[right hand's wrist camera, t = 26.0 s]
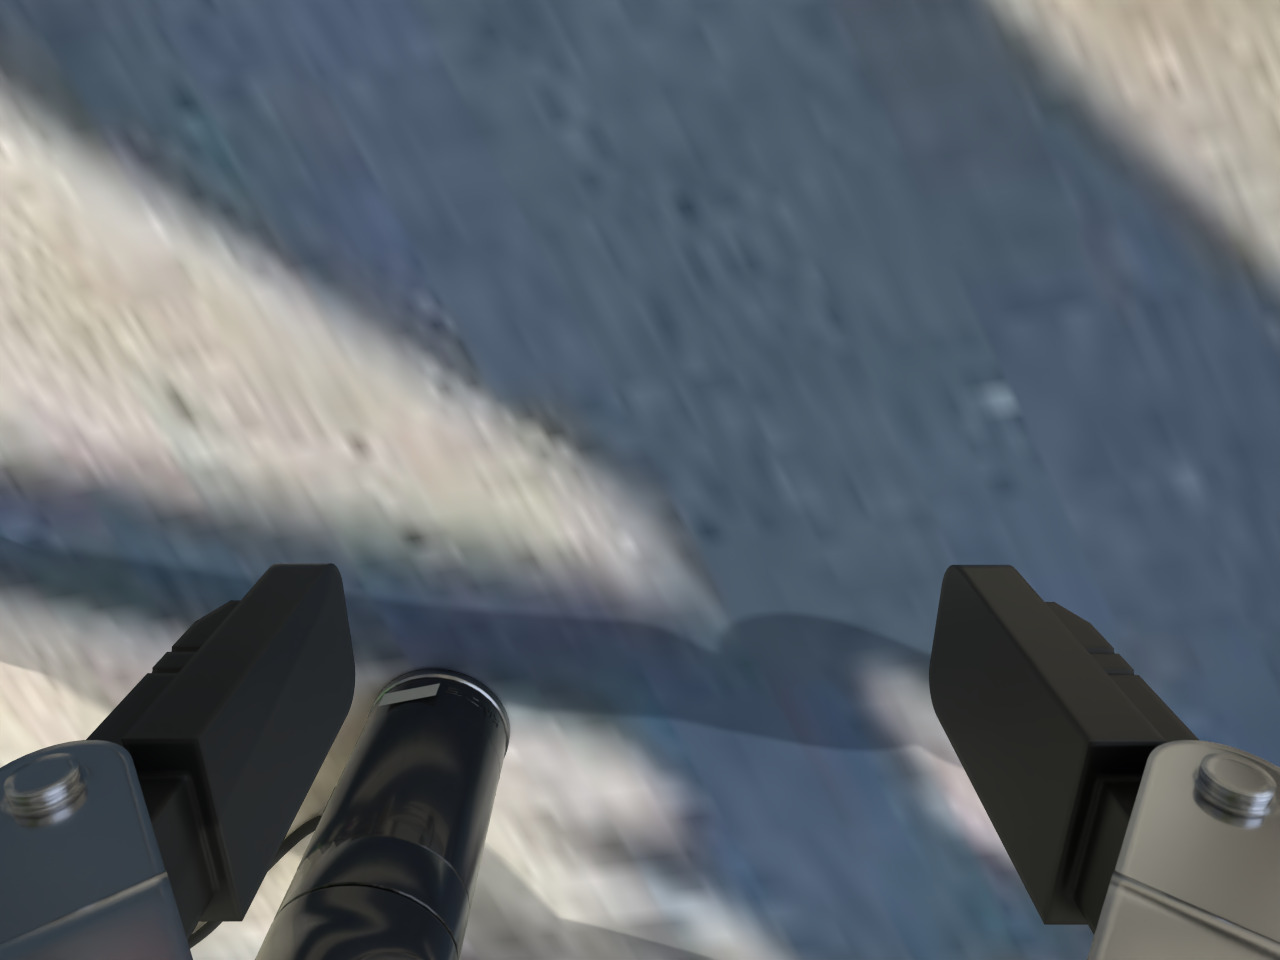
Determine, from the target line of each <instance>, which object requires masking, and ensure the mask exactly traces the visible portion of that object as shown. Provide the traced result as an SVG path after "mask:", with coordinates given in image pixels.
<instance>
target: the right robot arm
mask: <svg viewBox="0 0 1280 960" xmlns="http://www.w3.org/2000/svg"><path fill="white" fill-rule="evenodd" d="M929 685H930V694H931V699H932V703H933V707H934V710H935V713H936V715H937V717H938V719H939V721H940V723H941V725H942V727H943V729H944V731H945V733H946V735H947V737H948V738H949V740H950V742H951V744H952V746H953V748H954V750H955V752H956V754H957V756H958V758H959V760H960V762H961V764H962V766H963V768H964V769H965V771H966V773H967V775H968V777H969V779H970V781H971V783H972V785H973V787H974V789H975V791H976V793H977V795H978V797H979V799H980V800H981V802H982V804H983V806H984V808H985V810H986V812H987V814H988V816H989V818H990V820H991V822H992V824H993V826H994V828H995V830H996V832H997V833H998V835H999V837H1000V839H1001V841H1002V843H1003V845H1004V847H1005V849H1006V851H1007V853H1008V855H1009V857H1010V859H1011V861H1012V863H1013V864H1014V866H1015V868H1016V870H1017V872H1018V874H1019V876H1020V878H1021V880H1022V882H1023V884H1024V886H1025V888H1026V890H1027V892H1028V894H1029V895H1030V897H1031V899H1032V901H1033V903H1034V905H1035V907H1036V909H1037V911H1038V913H1039V915H1040V917H1041V919H1042V921H1043V923H1044V924H1088V925H1089V927H1090V929H1091V930H1092V932H1093V934H1094V938H1093V941H1092V945H1091V948H1090V951H1089V955H1088V958H1087V960H1280V768H1279V767H1277V766H1275V765H1273V764H1272V763H1270V762H1268V761H1266V760H1264V759H1262V758H1259V757H1257V756H1255V755H1253V754H1250V753H1247V752H1245V751H1242V750H1240V749H1236V748H1233V747H1230V746H1226V745H1222V744H1218V743H1213V742H1207V741H1200V740H1199V739H1198V738H1197V737H1196V736H1195V735H1194V734H1193V733H1192V732H1191V731H1190V730H1189V729H1188V727H1187V726H1186V725H1185V724H1184V723H1183V722H1182V721H1181V720H1180V719H1179V718H1178V717H1177V716H1176V715H1175V714H1174V712H1173V711H1172V710H1171V709H1170V708H1169V707H1168V706H1167V705H1166V704H1165V703H1164V702H1163V701H1162V700H1161V699H1160V697H1159V696H1158V695H1157V694H1156V693H1155V692H1154V691H1153V690H1152V689H1151V688H1150V687H1149V686H1148V685H1147V684H1146V682H1145V681H1144V680H1143V679H1142V678H1141V677H1140V676H1139V675H1134V670H1133V669H1132V667H1131V666H1130V665H1129V664H1128V663H1127V662H1126V661H1125V660H1124V659H1123V658H1122V657H1121V656H1120V655H1119V654H1115V653H1114V648H1113V647H1112V646H1111V645H1110V644H1109V643H1108V642H1107V641H1106V640H1105V638H1104V637H1103V636H1102V635H1101V634H1100V633H1099V632H1098V631H1097V630H1096V629H1095V628H1094V627H1093V626H1092V625H1091V624H1090V623H1089V622H1087V621H1085V620H1084V619H1082V618H1080V617H1079V616H1077V615H1075V614H1074V613H1072V612H1070V611H1069V610H1067V609H1065V608H1064V607H1062V606H1060V605H1058V604H1057V603H1055V602H1044V601H1043V600H1042V599H1041V597H1040V596H1039V595H1038V594H1037V593H1036V592H1035V591H1034V590H1033V588H1032V587H1031V586H1030V585H1029V584H1028V583H1027V582H1026V580H1025V579H1024V578H1023V577H1022V576H1021V575H1020V574H1019V572H1018V571H1017V570H1016V569H1015V568H1014V567H1012V566H1010V565H951V566H950V567H949V568H948V569H947V570H946V572H945V575H944V578H943V582H942V588H941V594H940V601H939V608H938V614H937V621H936V627H935V634H934V640H933V647H932V654H931V660H930V668H929ZM354 687H355V663H354V656H353V650H352V643H351V636H350V629H349V623H348V616H347V609H346V603H345V596H344V589H343V583H342V578H341V575H340V572H339V570H338V568H337V567H336V566H335V565H334V564H274V565H272V566H271V567H270V568H269V569H268V570H267V571H266V572H265V573H264V575H263V576H262V577H261V578H260V579H259V580H258V582H257V583H256V584H255V585H254V586H253V587H252V588H251V590H250V591H249V592H248V593H247V594H246V595H245V597H244V598H243V599H242V600H241V601H229V602H228V603H226V604H224V605H223V606H221V607H219V608H218V609H216V610H214V611H213V612H211V613H209V614H207V615H206V616H204V617H202V618H201V619H199V620H197V621H196V622H194V624H193V625H192V626H191V627H190V628H189V629H188V630H187V631H186V632H185V633H184V634H183V635H182V637H181V638H180V639H179V640H178V641H177V642H176V643H175V644H174V645H173V646H172V651H171V652H167V653H166V654H165V655H164V656H163V657H162V658H161V659H160V660H159V661H158V662H157V664H156V665H155V666H154V667H153V671H152V673H147V674H146V675H145V677H144V678H143V679H142V680H141V681H140V682H139V683H138V684H137V685H136V686H135V687H134V688H133V690H132V691H131V692H130V693H129V694H128V695H127V696H126V697H125V698H124V699H123V700H122V701H121V703H120V704H119V705H118V706H117V707H116V708H115V709H114V710H113V711H112V712H111V713H110V714H109V716H108V717H107V718H106V719H105V720H104V721H103V722H102V723H101V724H100V725H99V726H98V727H97V728H96V730H95V731H94V732H93V733H92V734H91V735H90V736H89V737H88V738H87V739H86V740H81V741H73V742H67V743H62V744H58V745H54V746H50V747H47V748H44V749H40V750H38V751H35V752H33V753H30V754H27V755H25V756H23V757H21V758H18V759H16V760H14V761H12V762H10V763H8V764H7V765H5V766H3V767H1V768H0V960H193V958H192V955H191V951H190V948H192V947H193V946H194V945H196V944H197V943H199V942H200V941H201V940H203V939H204V938H205V937H206V936H208V935H209V934H210V933H211V932H212V931H213V930H214V929H216V928H217V927H218V926H219V925H220V924H221V923H222V921H242V920H243V918H244V917H245V915H246V913H247V911H248V909H249V907H250V905H251V903H252V901H253V899H254V897H255V895H256V893H257V891H258V889H259V887H260V885H261V883H262V881H263V879H264V877H265V875H266V873H267V872H268V871H269V870H270V869H271V868H272V867H273V866H274V865H275V864H276V863H277V862H278V861H279V860H280V859H281V858H282V857H283V856H284V855H285V854H286V853H287V852H288V851H289V850H290V849H291V848H292V847H293V846H295V845H296V844H297V843H298V842H299V841H300V840H302V839H303V838H304V837H306V836H307V835H308V834H310V833H311V832H313V831H315V832H314V834H313V837H312V839H311V841H310V843H309V845H308V847H307V849H306V851H305V854H304V856H303V858H302V860H301V862H300V864H299V866H298V869H297V871H296V873H295V876H294V878H293V880H292V882H291V884H290V886H289V888H288V890H287V893H286V895H285V897H284V899H283V901H282V903H281V905H280V907H279V910H278V912H277V914H276V916H275V918H274V921H273V922H272V924H271V926H270V928H269V931H268V933H267V935H266V937H265V939H264V942H263V944H262V946H261V948H260V950H259V952H258V954H257V956H256V958H255V960H459V958H460V953H461V949H462V944H463V940H464V935H465V931H466V926H467V921H468V916H469V911H470V907H471V902H472V898H473V893H474V889H475V884H476V880H477V875H478V871H479V866H480V862H481V857H482V853H483V849H484V844H485V840H486V835H487V831H488V826H489V822H490V817H491V813H492V808H493V804H494V799H495V795H496V790H497V786H498V781H499V777H500V773H501V768H502V764H503V759H504V757H505V755H506V752H507V748H508V744H509V738H510V723H509V718H508V715H507V713H506V710H505V708H504V706H503V705H502V703H501V701H500V700H499V699H498V697H497V696H496V695H495V694H494V693H493V692H492V691H491V690H490V689H489V688H488V687H486V686H485V685H484V684H482V683H481V682H479V681H477V680H476V679H474V678H472V677H470V676H467V675H465V674H462V673H459V672H455V671H451V670H444V669H424V670H418V671H414V672H410V673H407V674H404V675H402V676H400V677H398V678H396V679H395V680H393V681H392V682H390V683H389V684H388V685H387V686H386V687H385V688H384V689H383V690H382V691H381V692H380V693H379V695H378V696H377V698H376V700H375V702H374V704H373V706H372V708H371V710H370V713H369V716H368V720H367V722H366V724H365V727H364V729H363V731H362V733H361V735H360V737H359V739H358V741H357V743H356V745H355V747H354V749H353V752H352V754H351V756H350V758H349V760H348V762H347V764H346V766H345V769H344V771H343V773H342V775H341V777H340V779H339V781H338V783H337V786H336V787H335V788H334V790H333V792H332V795H331V797H330V799H329V801H328V803H327V805H326V807H325V809H324V812H323V815H322V816H319V817H316V818H313V819H312V820H310V821H308V822H306V823H305V824H303V825H302V826H301V827H299V828H298V829H297V830H296V831H294V832H293V833H292V834H291V835H290V836H289V837H287V838H286V839H285V840H284V838H285V836H286V834H287V832H288V830H289V828H290V826H291V824H292V822H293V820H294V818H295V816H296V814H297V813H298V811H299V809H300V807H301V805H302V803H303V801H304V799H305V797H306V795H307V793H308V791H309V789H310V787H311V785H312V783H313V781H314V779H315V777H316V775H317V773H318V771H319V769H320V767H321V765H322V763H323V762H324V760H325V758H326V756H327V754H328V752H329V750H330V748H331V746H332V744H333V742H334V740H335V738H336V736H337V734H338V732H339V730H340V728H341V726H342V724H343V722H344V720H345V718H346V716H347V714H348V712H349V710H350V707H351V703H352V699H353V694H354ZM283 840H284V841H283ZM199 921H208V922H207V923H206V924H204V925H203V926H202V927H201V928H200V929H198V930H197V931H196V932H194V933H193V931H194V929H195V927H196V925H197V924H198V922H199ZM192 933H193V934H192ZM191 934H192V935H191Z"/></svg>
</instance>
